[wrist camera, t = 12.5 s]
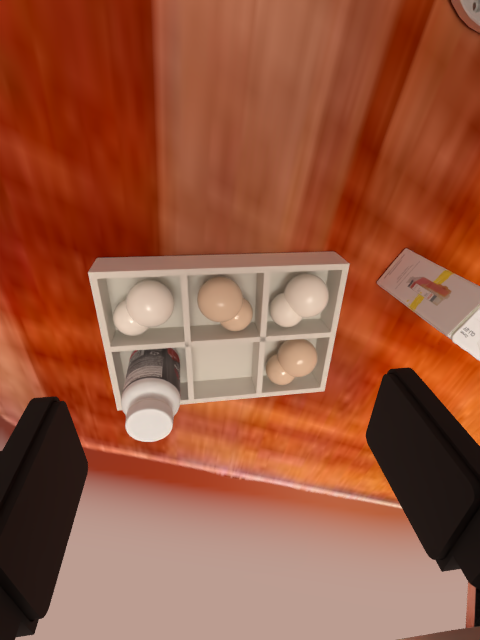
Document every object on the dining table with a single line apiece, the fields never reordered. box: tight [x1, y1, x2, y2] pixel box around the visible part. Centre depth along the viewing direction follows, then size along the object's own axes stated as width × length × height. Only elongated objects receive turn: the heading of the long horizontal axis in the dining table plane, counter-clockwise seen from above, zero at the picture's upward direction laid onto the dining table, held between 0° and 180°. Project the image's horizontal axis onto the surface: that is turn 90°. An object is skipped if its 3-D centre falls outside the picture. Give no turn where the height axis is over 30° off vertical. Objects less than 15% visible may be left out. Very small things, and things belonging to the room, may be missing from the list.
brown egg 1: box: [197, 276, 253, 331], centre depth 33 cm, size 6×4×4 cm
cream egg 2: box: [269, 274, 329, 327], centre depth 34 cm, size 6×4×4 cm
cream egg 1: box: [113, 280, 175, 336], centre depth 32 cm, size 6×4×4 cm
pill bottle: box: [121, 348, 181, 442], centre depth 33 cm, size 5×5×10 cm
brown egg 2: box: [266, 339, 317, 385], centre depth 38 cm, size 6×4×4 cm
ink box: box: [377, 248, 480, 361], centre depth 33 cm, size 9×5×12 cm, turn 56°
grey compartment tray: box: [88, 251, 349, 410], centre depth 35 cm, size 23×16×4 cm
